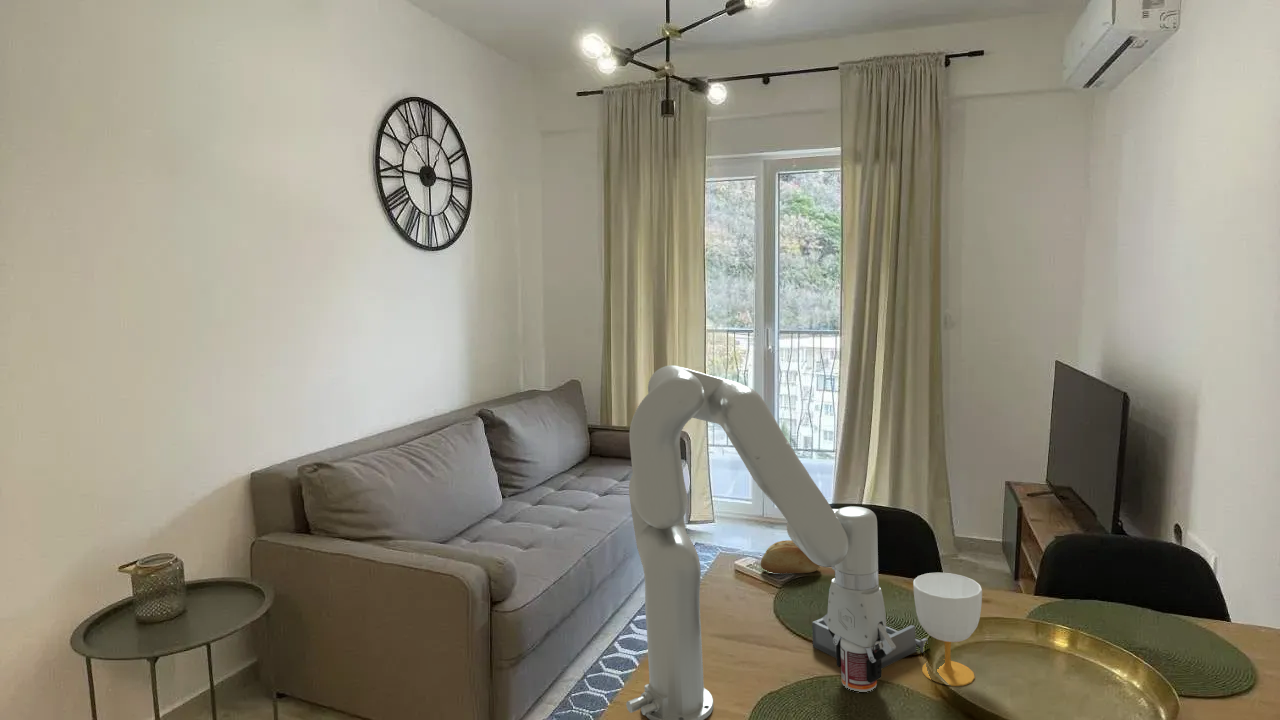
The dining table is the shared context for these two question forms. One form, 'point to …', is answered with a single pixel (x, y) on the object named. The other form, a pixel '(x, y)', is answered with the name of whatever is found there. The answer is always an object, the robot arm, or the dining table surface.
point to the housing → (901, 639)
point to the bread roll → (787, 559)
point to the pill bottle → (855, 667)
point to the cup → (948, 617)
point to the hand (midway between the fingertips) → (858, 671)
